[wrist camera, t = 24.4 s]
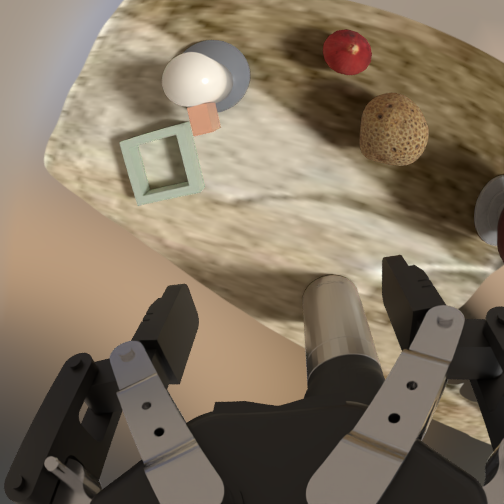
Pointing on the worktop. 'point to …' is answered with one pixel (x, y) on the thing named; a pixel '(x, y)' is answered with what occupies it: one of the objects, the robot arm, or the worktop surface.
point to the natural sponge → (393, 130)
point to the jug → (198, 88)
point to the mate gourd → (491, 214)
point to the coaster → (232, 61)
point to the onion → (347, 52)
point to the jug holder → (138, 171)
